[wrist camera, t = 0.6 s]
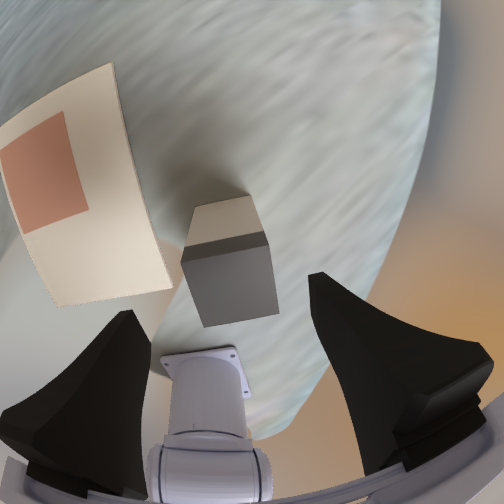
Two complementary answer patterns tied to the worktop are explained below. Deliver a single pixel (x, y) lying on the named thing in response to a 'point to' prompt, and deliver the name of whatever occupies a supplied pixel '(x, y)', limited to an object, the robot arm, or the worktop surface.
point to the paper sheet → (81, 194)
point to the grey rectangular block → (229, 263)
